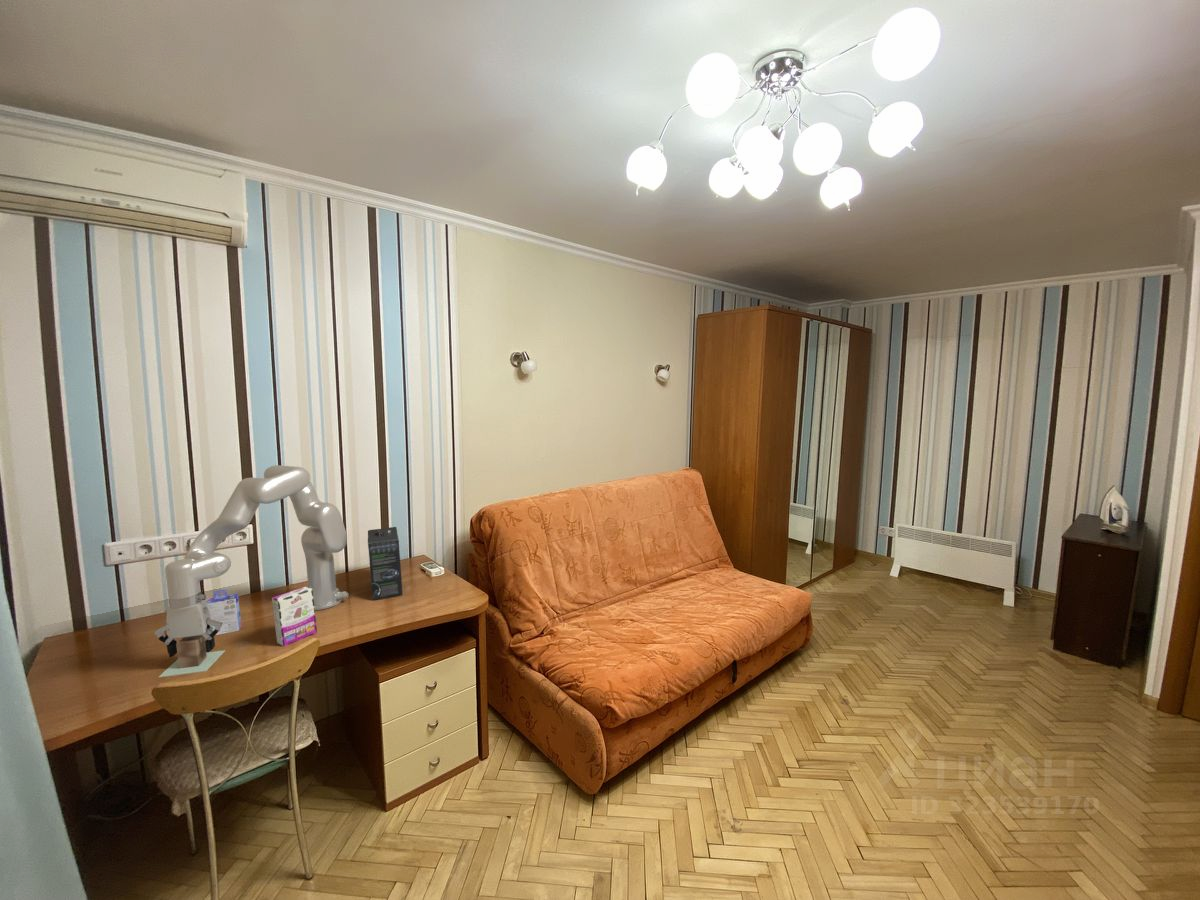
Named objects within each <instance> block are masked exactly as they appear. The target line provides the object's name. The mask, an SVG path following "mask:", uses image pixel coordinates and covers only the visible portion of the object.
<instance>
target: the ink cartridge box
mask: <svg viewBox="0 0 1200 900" xmlns="http://www.w3.org/2000/svg"><path fill="white" fill-rule="evenodd" d="M220 593H224V594H220ZM204 600H205V601H206V603H207V606H208V608H209V612H210V616H211V619H212V620H215V621H219V622H222V623H223V624H222V626H221V629H220V631H219V632H218V633H217V634H216V635H215V636H218V635H223V634H229V633H232V632H233V633H235V632H238V631H240V629H241V627H242V619H241V618H242V617H241V609H240V608H241V607H240V599H239V593H238V592H237V593H232V594H227V589H223V590H222V589H220V590H216V591H213V596H212V597H211V598H206V599H204ZM210 629H211V630H212V631H214V629H215V627H214V626H212V627H211V628H210Z"/></svg>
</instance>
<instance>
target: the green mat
mask: <svg viewBox="0 0 1200 900" xmlns="http://www.w3.org/2000/svg"><path fill="white" fill-rule="evenodd" d="M224 652H226V650H216V651H210V652H208V653H207V652H206V653H207V658H206V659H205V660H204V661H203V662H202V663H201V664H200V665H199V666H195V667H188V668H180V669H179V662H178V658H177V659H176V660H175V661H174V662H173V663H172V664H171V665H170V666H169V667H167V669H165V670H164V671H163V672H162V673H161V674H160V675H158V678H165V677H166V678H167V677H174V676H180V675H181V676H182V675H187V674H194V673H203V672H204V673H205V672H207V671H208V670H209V669H210V667H212V665H213V664H215V662H216V661H218V659H219V658H220V657H221V656H222V654H224Z"/></svg>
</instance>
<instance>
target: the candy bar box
mask: <svg viewBox="0 0 1200 900" xmlns="http://www.w3.org/2000/svg"><path fill="white" fill-rule="evenodd" d="M271 603H272V611H273V618H274V619H273V620H274V626H275V637H276V643H277V644H279V645H280V646H282V647H286V646H288V645H289V646H290V645H291V644H293V643H296V642H298V641H301V640H302V639H303V640H304V639H306V638H308V637H310V636H313V635H315V634H318V630H317V628H318V627H317V620H316V619H317V618H316V612H315V611H316V610H315V609H314V599H313V590H312V588H309V587H308V585H307V586H302V587H300V588H295V589H293V590H290V591H288V592H284V593H282V594H279V595H275V596H273V597H271Z"/></svg>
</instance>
